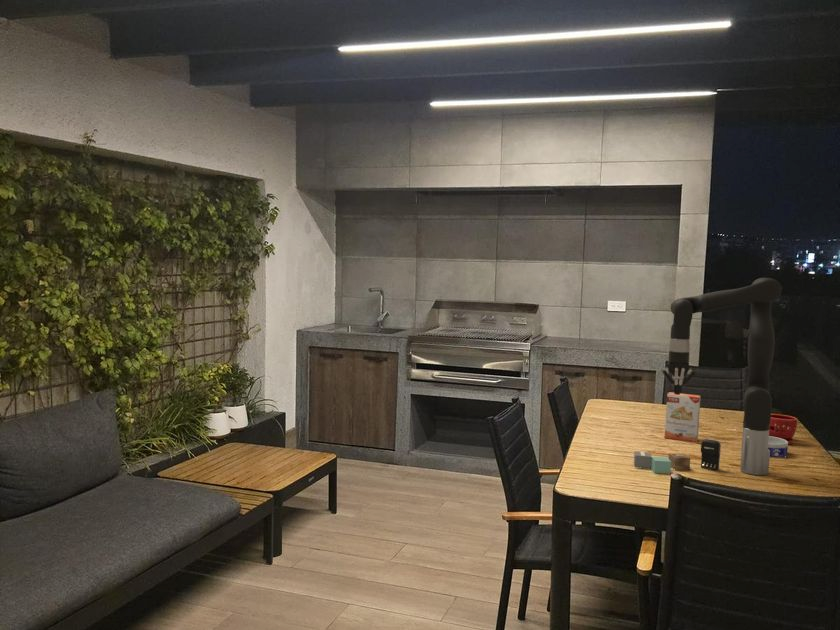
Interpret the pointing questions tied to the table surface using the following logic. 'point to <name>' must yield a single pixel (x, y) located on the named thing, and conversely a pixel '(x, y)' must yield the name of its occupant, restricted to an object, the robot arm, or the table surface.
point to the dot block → (679, 461)
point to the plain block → (660, 465)
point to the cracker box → (682, 417)
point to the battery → (710, 454)
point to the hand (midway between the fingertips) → (676, 394)
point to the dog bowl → (777, 447)
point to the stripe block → (642, 459)
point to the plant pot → (783, 431)
